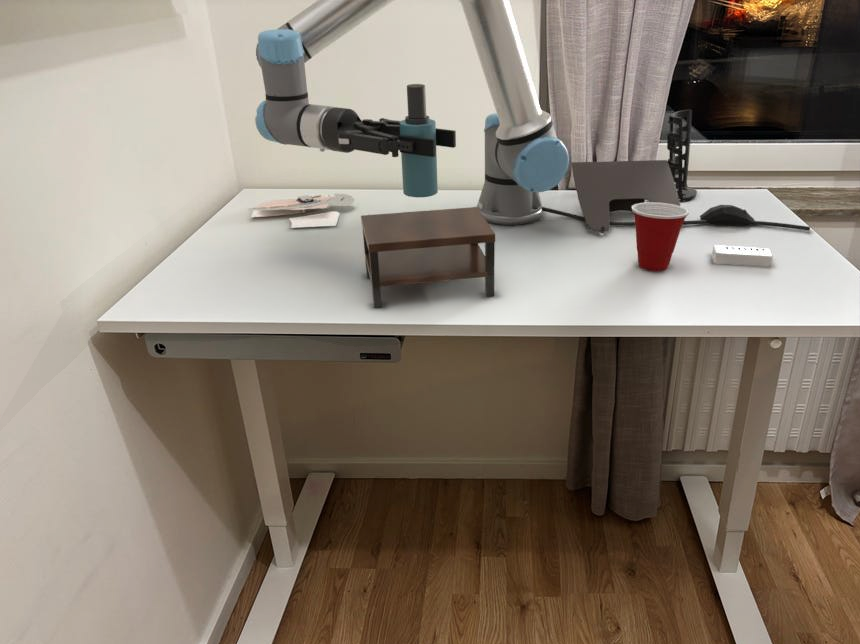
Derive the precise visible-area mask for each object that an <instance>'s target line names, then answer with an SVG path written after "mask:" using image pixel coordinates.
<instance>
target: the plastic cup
mask: <svg viewBox="0 0 860 644" xmlns="http://www.w3.org/2000/svg"><path fill="white" fill-rule="evenodd" d="M632 211H633V212H632V213H633V218H634V222H635V226H634V227H635V238H636V239H635V241H636V251H637V263H638V267H639V268H640V269H642V270H644V271H648V272H662V271H666V270H667V269H668V268H669V265H670V262H671V260H672V256H673V253H674V252H675V248H676V245H677V241H678V239H679V236H680V232H681V229H682V227H683V226H684V225H683V222H684V221H686V218H687V217H688V215H689V214H690V211H689V209H688V208H687V207H684V206H682V205H680V206H678V205H674V204H667V203H655V202H649V201H647V202H644V203H639V204H635V205H633V206H632Z"/></svg>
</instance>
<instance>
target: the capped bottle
mask: <svg viewBox="0 0 860 644" xmlns="http://www.w3.org/2000/svg"><path fill="white" fill-rule="evenodd" d="M426 97H427V95H426V84H423V83H413V84H407V85H406V100H407V115H406V116H405V117H404V119H403V120H399V121H400V135H406V136H413V137H421V138H429V139H435V147H436V148H437V146H436V128H437V127H436V125H437V123H436V120H434V119H432V118H430V116H429V115H427V102H426V101H427V100H426V99H427V98H426ZM400 159H401V175H402V193H403V195H405V196H406V197H410V198H429V197H433V196H436V195H437V194H438V192H439V189H438V188H439V187H438V186H439V185H438V156H437V153H436V156H435V157H429V156H422V155H415V154H408V153H401V152H400Z"/></svg>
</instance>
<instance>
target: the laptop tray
mask: <svg viewBox="0 0 860 644" xmlns="http://www.w3.org/2000/svg"><path fill="white" fill-rule="evenodd" d="M667 161H668V159H658V160H657V159H655V160H617V161H616V160H613V161H609V160H608V161H573V162H570V164H571V171H572V176H573V181H574V186H575V191H576V194H577V199H578V203H579V207H580V210H581V213H582V215H583V216H582V217H584V218H585V221H584V222H585V227H586V228H588V229H589V230H591V231H595V232H598V233H599V236H601V237H602V236H604V235H605V233H606V232H608V231H610V229H611V225H610V221H611V213H613V212H629V213H630V212H631V213H633V211H632V206H633V205H635V204H639V203H645V202H646V201H647V202H655V203H667V204H674V205H678V206H681V203H680V202H681V201H680V199H679V197H678V194H677V190H678V189H676V186H675V182H674V179H673V176H672V173H671V170H670V167H669V165H668V162H667Z"/></svg>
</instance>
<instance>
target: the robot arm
mask: <svg viewBox="0 0 860 644" xmlns="http://www.w3.org/2000/svg"><path fill="white" fill-rule="evenodd" d="M394 1H395V0H315V2H313V3H311V5H309V6H308V7H306V8H305V9H303V10H302V11H301V12H299V13H298V14H296V15H295V16H293V17H292V18H290V19H289V20H288V21H287V22H286V23H284V24H282V25H281V26H279V27H278V28H276V29H266V30H263V31H261V32H259V33H258V35H257V43H256V47H255V56H256V60H257V62H258V65H259V67H260V69H261V73H262V74H261V75H262V80H263V86H264V93H265V94H264V96H265V100H263V101H261V102H260V103H259V104H258V106H257V108H256V115H255V117H254V122H255V126H256V129H257V131H258V134H259V135H260V136H261V137H262V138H264V139H265V140H267V141H270V142H274V143H278V144H281V145H286V146H289V145H290V146H296V147H297V146H298V147H307V148H314V149H319V152H321V153H323V152H324V153H325V151H326V150H327V151H333V152H338V153H345V154H348V153H352V152H354V151H355V150H356V151H359V152H360V151H361V152H367V153H371V154H378V155H383V156H387V155H389V154H390V153H391V157H392V158H398V157H399V153H400V154H401V153H408V154H415V155H422V156H429V157H435V156H436V154H437V147H445V148H452V149H454V148H456V147H457V139H456V137H457V135H456V134H457V133H456V132H457V131H456V130H454V129H453V130H452V129H446V128H444V129H443V128H437V127H436V147H435V139H429V138H421V137H413V136H406V135H400V121H401V120H393V119H388V118H384V117H381V118H379V120H373V119H371V118H370V119H369V118H366V119H364V118H363V119H361V118H360V116H359V114H358V113H357V112H356V111H355V110H353V109H351V108H347V107H337V106H331V105H322V104H321V105H320V104H311V103H309V93H308V86H307V75H306V65H305V64H306V63H307V62H308V61H309V60H311V59H312V58H313V57H315V56H316V55H318V54H319V53H321V52H322V51H323V50H325V49H326V48H328V47H329V46H331V45H332V44H334V42H337V41H338V40H339V39H341V38H342V37H344V36H345V35H346V34H348V33H349V32H351V31H352V30H354V29H355V28H357V27H358V26H359V25H361V24H362V23H363V22H365V21H367V20H368V19H369V18H371V17H372V16H373V15H375V14H376V13H378V12H380V11H381V10H382V9H384V8H385V7H387V6H388V5H390V4H392V2H394ZM458 1H459V3H460V4H461V7H462V10H463V13H464V16H465V19H466V22H467V25H468V26H467V27H468V29H469V32H470V35H471V38H472V42H473V45H474V47H475V50H476V53H477V57H478V60H479V63H480V66H481V69H482V72H483V75H484V78H485V81H486V84H487V87H488V92H489V93H490V96H491V100H492V103H493V106H494V109H495V113H491V114H488V115H487V117H485V121H484V128H483V132H484V183H483V186H482V189H481V192H480V195H479V198H478V201H477V205H476V207H477V208H478V210H479V211H480V213H481V214H482V215H483V217H484V218H485V220H486V221H487V223H491V224H495V225H505V226H516V225H517V226H518V225H526V224H530V223H534V222H536V221H538V220H540V219H541V218H542V216H543V212H545V213H550V214H554V215H559V216H563V217H566V218H570V219H575V220H579V221H583V222H586V221H585V218H584V216H582V215H578V214H575V213H569V212H566V211H562V210H559V209H558V210H557V209H553V208H550V207H544V206H543V203H542V200H541V196H540V194H539V193H545V192H548V191H550V190H552V189H553V188H555V187H556V186H557V185H559V184H560V182H561V181H562V180H563V179H564V176H565V175H566V173H567V172H568V169H569V164H570V157H569V156H570V155H569V151H568V149H567V147H566V145H565V143H563V141H562V140H560V139H559V138H558V136H557V133H556V130H555V127H554V124H553V119H552V116H551V114H550V112H547V111H545V110H543V109H541V105H540V102H539V99H538V98H539V97H538V96H537V92H536V87H535V85H534V82H533V81H534V80H533V78H532V74H531V71H530V68H529V67H530V66H529V63H528V60H527V57H526V53H525V49H524V46H523V42H522V40H521V36H520V35H521V34H520V32H519V28H518V25H517V22H516V18H515V14H514V11H513V7H512V5H511V4H512V3H511V1H510V0H458ZM686 225H687V226H689V225H691V226H692V225H709V224H708V223H707V221H706V220H701V219H699V220H698V219H697V220H684V222H683V225H682V226H686ZM752 225H753V226H766V227H777V228H786V229H794V230H800V231H808V232H809V231H810V230H811V226H807V225H799V224H792V223H785V222H784V223H783V222H773V221H764V220H763V221H762V220H755V221H754V222H753V224H752ZM752 225H751V226H752ZM610 226H614V227H615V226H617V227H636V226H635V221H611V220H610Z"/></svg>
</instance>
